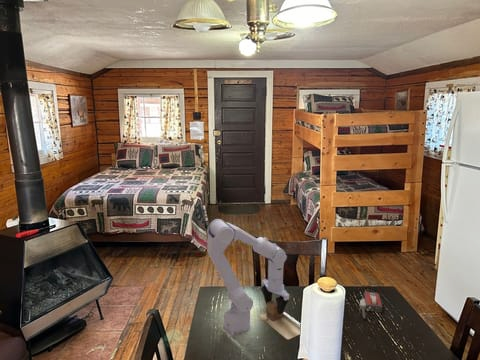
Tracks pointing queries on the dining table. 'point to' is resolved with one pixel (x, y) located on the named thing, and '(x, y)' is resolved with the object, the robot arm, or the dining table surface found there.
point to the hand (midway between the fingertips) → (274, 308)
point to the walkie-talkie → (371, 303)
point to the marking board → (284, 325)
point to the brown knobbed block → (273, 311)
